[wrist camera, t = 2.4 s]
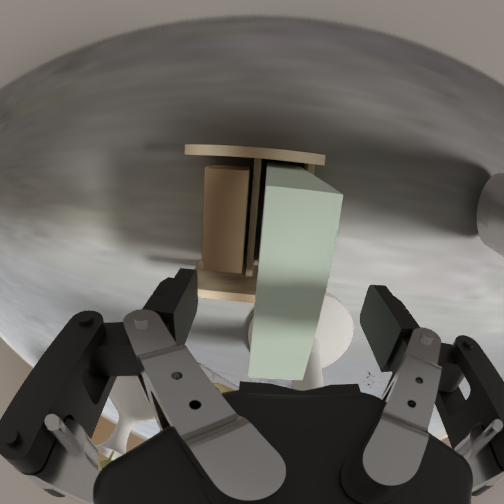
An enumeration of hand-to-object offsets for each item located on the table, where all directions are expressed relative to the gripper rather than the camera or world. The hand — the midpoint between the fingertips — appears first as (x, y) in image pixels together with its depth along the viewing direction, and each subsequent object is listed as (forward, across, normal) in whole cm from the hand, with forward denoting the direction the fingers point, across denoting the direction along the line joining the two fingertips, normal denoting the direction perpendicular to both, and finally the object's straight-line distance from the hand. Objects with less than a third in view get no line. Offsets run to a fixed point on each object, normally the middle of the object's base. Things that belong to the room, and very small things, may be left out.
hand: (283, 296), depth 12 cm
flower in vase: (+16, +18, +30) cm, 38 cm away
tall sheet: (+16, 0, 0) cm, 16 cm away
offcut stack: (+16, +4, 0) cm, 16 cm away
